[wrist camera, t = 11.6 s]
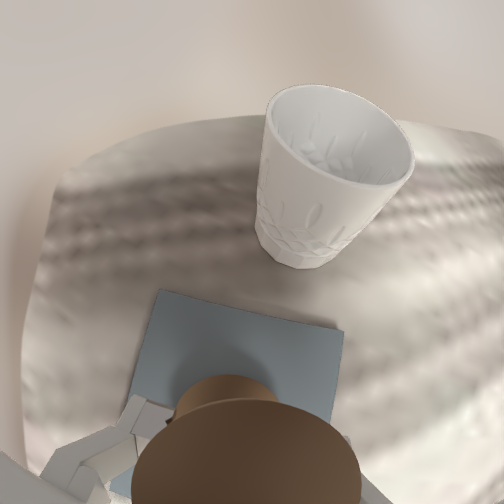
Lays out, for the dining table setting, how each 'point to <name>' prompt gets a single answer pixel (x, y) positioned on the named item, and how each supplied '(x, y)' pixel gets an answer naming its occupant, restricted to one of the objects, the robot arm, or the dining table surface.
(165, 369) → the gray book
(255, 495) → the brown post
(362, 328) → the dining table surface
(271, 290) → the dining table surface
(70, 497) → the robot arm
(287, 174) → the white cup
